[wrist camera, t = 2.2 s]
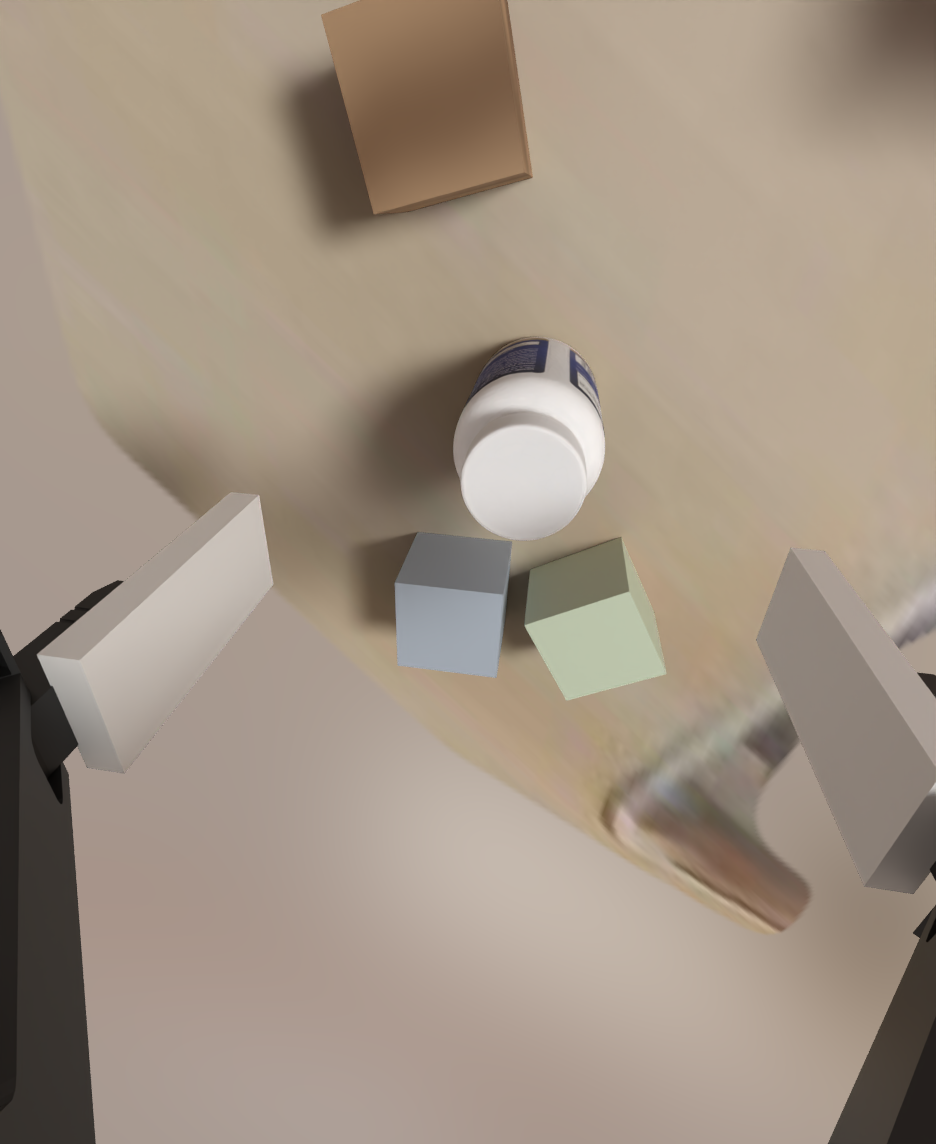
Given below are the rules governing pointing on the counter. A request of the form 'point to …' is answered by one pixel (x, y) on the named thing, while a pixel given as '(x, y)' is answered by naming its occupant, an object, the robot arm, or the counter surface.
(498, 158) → the walnut cube
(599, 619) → the sage cube
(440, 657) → the slate blue cube
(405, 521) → the counter surface
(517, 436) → the pill bottle
